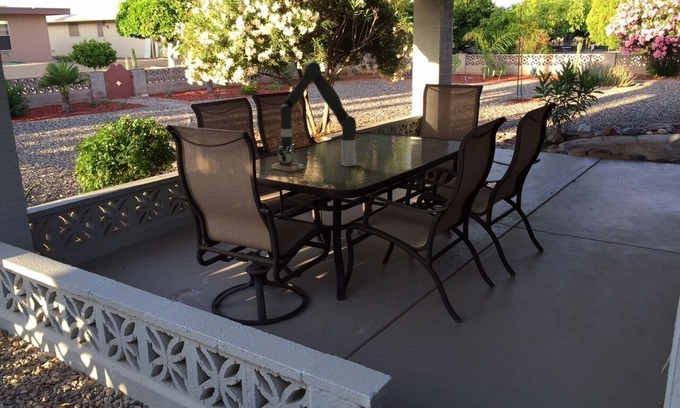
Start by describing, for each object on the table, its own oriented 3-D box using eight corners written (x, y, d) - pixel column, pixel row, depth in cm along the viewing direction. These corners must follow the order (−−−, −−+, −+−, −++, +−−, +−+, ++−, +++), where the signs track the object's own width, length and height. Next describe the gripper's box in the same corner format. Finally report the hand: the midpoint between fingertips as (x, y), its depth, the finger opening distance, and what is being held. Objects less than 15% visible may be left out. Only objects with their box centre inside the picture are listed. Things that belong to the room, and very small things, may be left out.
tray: (284, 166, 398) (284, 161, 398) (303, 168, 387) (303, 164, 387) (271, 168, 389) (271, 164, 389) (291, 171, 378) (291, 167, 378)
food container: (298, 165, 388) (297, 150, 385) (293, 167, 382) (292, 151, 380) (283, 164, 394) (282, 149, 391) (277, 165, 389) (277, 150, 386)
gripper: (290, 134, 391) (291, 159, 395) (274, 136, 380) (275, 162, 384) (298, 134, 386) (299, 160, 390) (282, 137, 375) (284, 163, 379)
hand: (287, 160), depth 387 cm, fingers closed on food container, 6 cm apart
